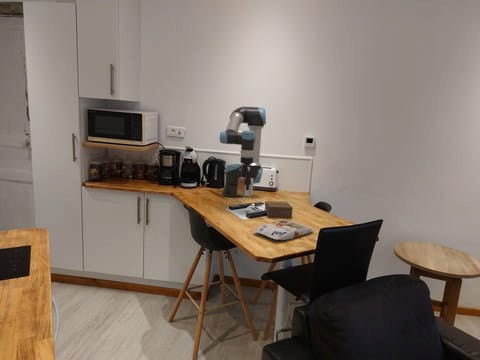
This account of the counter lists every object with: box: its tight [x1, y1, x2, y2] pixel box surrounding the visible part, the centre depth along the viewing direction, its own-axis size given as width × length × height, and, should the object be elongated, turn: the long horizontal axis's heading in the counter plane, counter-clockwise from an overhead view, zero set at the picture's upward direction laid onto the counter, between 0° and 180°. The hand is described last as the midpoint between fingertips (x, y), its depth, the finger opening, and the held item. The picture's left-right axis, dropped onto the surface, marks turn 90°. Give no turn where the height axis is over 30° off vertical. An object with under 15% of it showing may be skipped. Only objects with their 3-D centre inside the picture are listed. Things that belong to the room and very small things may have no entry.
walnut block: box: [264, 201, 294, 220], centre depth 219 cm, size 14×14×7 cm
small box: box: [237, 177, 254, 198], centre depth 218 cm, size 8×6×10 cm
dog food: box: [252, 219, 315, 241], centre depth 185 cm, size 30×18×5 cm, turn 133°
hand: (244, 193), depth 219 cm, fingers closed on small box, 9 cm apart
